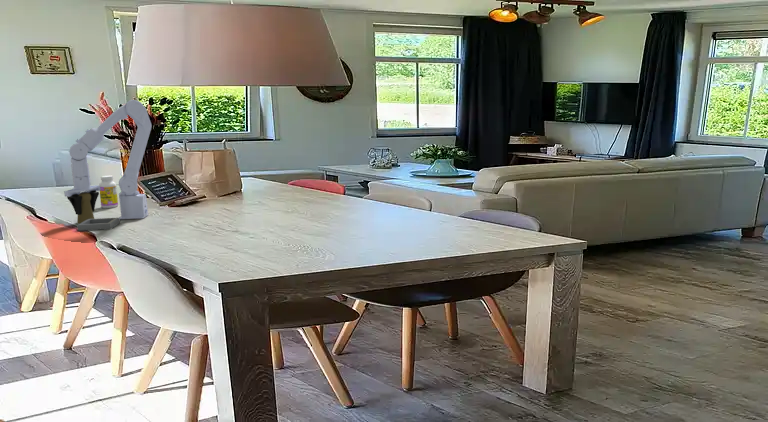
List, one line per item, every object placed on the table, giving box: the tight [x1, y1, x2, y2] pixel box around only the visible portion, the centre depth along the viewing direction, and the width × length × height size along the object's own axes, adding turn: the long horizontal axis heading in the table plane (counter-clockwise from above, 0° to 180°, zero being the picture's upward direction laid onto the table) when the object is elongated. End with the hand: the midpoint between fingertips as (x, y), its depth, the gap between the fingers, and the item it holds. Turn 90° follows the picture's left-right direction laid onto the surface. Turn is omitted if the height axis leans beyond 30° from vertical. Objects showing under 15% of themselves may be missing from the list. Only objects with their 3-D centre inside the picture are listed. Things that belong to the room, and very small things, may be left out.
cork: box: [77, 191, 95, 224], centre depth 254 cm, size 6×6×11 cm
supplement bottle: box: [98, 175, 119, 209], centre depth 285 cm, size 7×7×13 cm
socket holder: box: [77, 217, 121, 232], centre depth 245 cm, size 11×11×2 cm
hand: (85, 212), depth 255 cm, fingers open, 5 cm apart
